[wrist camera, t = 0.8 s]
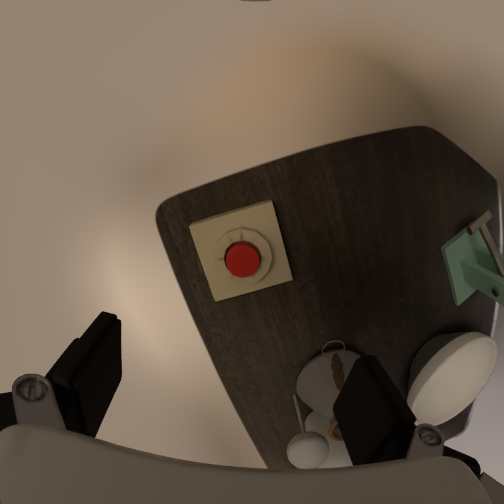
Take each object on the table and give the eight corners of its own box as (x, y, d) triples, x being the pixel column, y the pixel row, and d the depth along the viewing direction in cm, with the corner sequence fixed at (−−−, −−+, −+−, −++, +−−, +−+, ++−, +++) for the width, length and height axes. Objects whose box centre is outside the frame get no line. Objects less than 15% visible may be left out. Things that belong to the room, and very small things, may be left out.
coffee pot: (365, 379, 44) (399, 440, 30) (303, 403, 45) (321, 471, 30) (341, 272, 38) (391, 327, 24) (261, 303, 39) (275, 374, 25)
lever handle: (463, 227, 33) (471, 225, 31) (482, 211, 33) (490, 207, 30) (495, 298, 31) (504, 299, 29) (513, 280, 30) (522, 279, 28)
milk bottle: (296, 419, 46) (317, 511, 27) (331, 397, 45) (366, 489, 26) (317, 434, 48) (341, 517, 29) (351, 414, 47) (385, 496, 28)
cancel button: (222, 247, 33) (221, 251, 31) (253, 238, 33) (254, 241, 31) (231, 276, 34) (231, 281, 32) (262, 267, 34) (263, 272, 32)
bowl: (462, 372, 47) (485, 396, 38) (388, 409, 48) (406, 442, 38) (474, 296, 42) (506, 319, 32) (389, 336, 42) (416, 370, 33)
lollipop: (272, 388, 43) (284, 462, 29) (307, 377, 43) (330, 449, 29) (282, 411, 45) (295, 480, 31) (314, 401, 45) (336, 468, 31)
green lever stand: (440, 247, 38) (490, 272, 27) (477, 216, 37) (527, 232, 26) (454, 303, 42) (495, 334, 30) (488, 272, 40) (530, 296, 29)
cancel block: (191, 222, 36) (186, 229, 32) (269, 199, 35) (274, 203, 31) (216, 294, 38) (214, 308, 35) (289, 273, 38) (295, 285, 34)
